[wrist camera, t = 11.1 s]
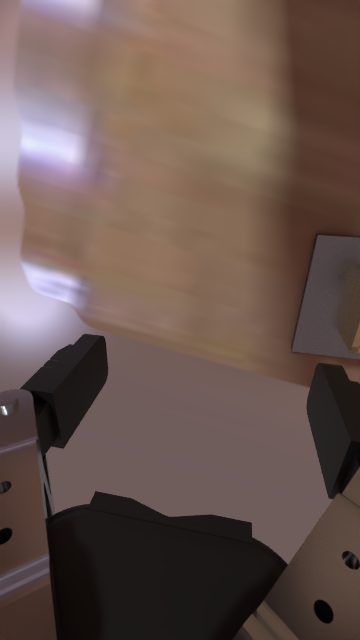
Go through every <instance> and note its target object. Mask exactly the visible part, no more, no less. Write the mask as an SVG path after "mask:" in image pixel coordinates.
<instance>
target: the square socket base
mask: <svg viewBox="0 0 360 640" xmlns="http://www.w3.org/2000/svg"><path fill="white" fill-rule="evenodd" d="M291 351H292V352H300V353H308V354H317V355H325V356H333V357H342V358H350V359H359V360H360V236H344V235H328V234H316V238H315V243H314V247H313V252H312V256H311V261H310V265H309V270H308V274H307V278H306V283H305V287H304V292H303V296H302V301H301V305H300V310H299V314H298V319H297V323H296V328H295V332H294V337H293V341H292V346H291Z"/></svg>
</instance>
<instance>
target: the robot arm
mask: <svg viewBox="0 0 360 640" xmlns="http://www.w3.org/2000/svg"><path fill="white" fill-rule="evenodd" d="M107 376H108V363H107V352H106V342H105V338H104V336H99V335H90V334H84V335H82V337H80V338H79V340H78V341H77V342H76V343H75V344H74V345H68V346H66V347H64V348H62V349H60V350H58V351H57V352H56V353H55V354H54V355H53V356H52V357H51V358H50V360H48V361H47V362H46V363H45V364H44V366H43V367H41V368H40V369H39V370H38V371H37V372H36V373H35V374H34V375H33V376H32V377H31V378H30V379H29V380H28V381H27V382H26V383H25V384H24V385H23V386H22V387H21V388H20V389H12V390H6V391H3V392H0V640H360V384H359V383H358V382H353V381H350V380H349V378H348V376H347V374H346V372H345V370H344V368H343V367H342V366H339V365H331V364H323V363H318V364H317V366H316V369H315V373H314V376H313V380H312V384H311V387H310V391H309V395H308V399H307V415H308V419H309V422H310V427H311V431H312V434H313V438H314V442H315V446H316V450H317V454H318V458H319V462H320V465H321V470H322V474H323V477H324V482H325V486H326V490H327V493H328V497H329V498H330V499H333V501H332V502H331V503H330V505H329V507H328V508H327V509H326V511H325V512H324V514H323V515H322V517H321V518H320V519H319V521H318V522H317V524H316V525H315V527H314V528H313V530H312V531H311V533H310V534H309V535H308V537H307V538H306V540H305V542H304V543H303V544H302V546H301V547H300V548H299V550H298V551H297V553H296V554H295V556H294V557H293V559H292V560H291V562H290V563H289V564H287V563H286V562H285V561H284V560H283V559H282V558H281V557H280V556H279V555H278V554H277V553H275V552H274V551H273V550H272V549H270V548H269V547H268V546H266V545H265V544H263V543H262V542H260V541H258V540H256V539H255V538H253V537H252V523H251V522H246V521H240V520H235V519H230V518H226V517H221V516H216V515H195V516H180V517H168V516H165V515H163V514H161V513H159V512H157V511H155V510H153V509H151V508H149V507H147V506H145V505H143V504H141V503H139V502H137V501H135V500H134V499H131V498H127V497H122V496H116V495H112V494H107V493H102V492H97V491H96V492H95V494H94V496H93V498H92V500H91V503H90V504H84V505H79V506H75V507H71V508H68V509H65V510H63V511H61V512H58V513H56V514H55V509H54V503H53V496H52V490H51V482H50V476H49V470H48V462H47V457H46V453H47V451H48V450H49V448H50V447H51V446H53V447H58V448H64V447H65V446H66V444H67V442H68V441H69V439H70V438H71V436H72V435H73V433H74V431H75V430H76V428H77V427H78V425H79V424H80V422H81V420H82V419H83V417H84V416H85V414H86V413H87V411H88V409H89V408H90V406H91V405H92V403H93V401H94V400H95V398H96V397H97V395H98V394H99V392H100V391H101V389H102V388H103V386H104V384H105V382H106V380H107Z"/></svg>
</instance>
